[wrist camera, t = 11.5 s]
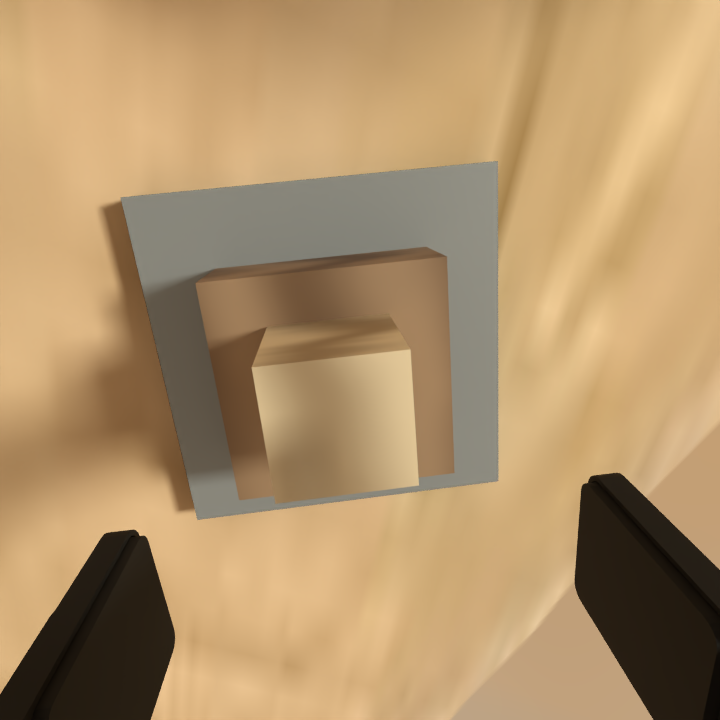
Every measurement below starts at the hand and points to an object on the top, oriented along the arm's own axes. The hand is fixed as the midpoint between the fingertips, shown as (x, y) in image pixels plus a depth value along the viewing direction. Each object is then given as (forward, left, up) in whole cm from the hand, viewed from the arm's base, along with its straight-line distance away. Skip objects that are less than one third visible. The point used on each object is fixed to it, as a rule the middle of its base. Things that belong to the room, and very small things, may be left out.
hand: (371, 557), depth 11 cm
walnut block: (0, 0, -15) cm, 15 cm away
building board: (0, 0, -17) cm, 17 cm away
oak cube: (0, 0, -11) cm, 11 cm away
